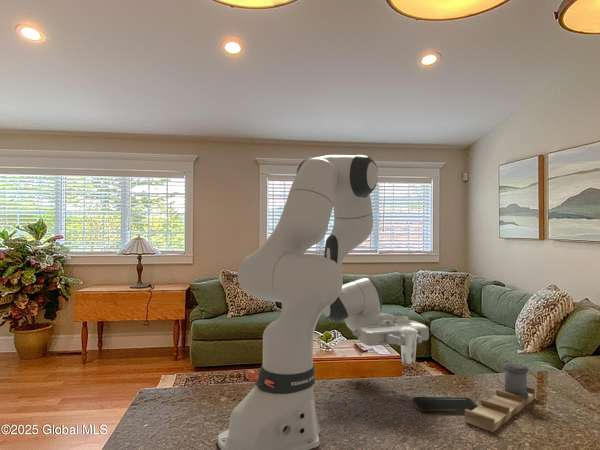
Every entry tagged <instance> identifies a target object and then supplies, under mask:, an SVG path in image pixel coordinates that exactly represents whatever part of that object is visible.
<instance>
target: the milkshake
mask: <svg viewBox="0 0 600 450" xmlns="http://www.w3.org/2000/svg"><path fill="white" fill-rule="evenodd" d="M420 326H421V325H420ZM419 328H420V327H419ZM418 330H419V329H418ZM417 334H418V331H417V330H416V329H414V328H411V327H402V328H401V329H400V337H402V338H404V339H405V345H400V352H401V353H400V355H401V363H402V364H406V365H414V364H416V353H417V344H418V343H417Z"/></svg>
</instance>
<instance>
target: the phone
mask: <svg viewBox="0 0 600 450" xmlns="http://www.w3.org/2000/svg"><path fill="white" fill-rule="evenodd" d="M412 403H413V405H414V407H415V408H416V410H417V411H418V413H420V414H423V415H426V414H427V415H465V409H468V410H471V411H472V410H473V409H475V408H476V407H478V406H479V405H477V404H476V403H475V402H474V400H473V399H472V398H469V397H444V396H443V397H439V396H438V397H437V396H436V397H435V396H434V397H432V396H428V397H427V396H414V397H412Z"/></svg>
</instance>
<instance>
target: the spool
mask: <svg viewBox="0 0 600 450" xmlns="http://www.w3.org/2000/svg"><path fill="white" fill-rule="evenodd" d="M502 365H503V366H502V368H503V370H504V388H503V389H502V390H503V391H505V392H509V393H512V394H515V395H519V396H522V397H524V398H527V397H528V392H527V391H526V390H527V386H528V385H527V383H528V382H527V376H528V375H527V374H528V372H529V368H528V366H525V365H523V364H519V363H511V362H508V363H507V362H505V363H504V364H502Z"/></svg>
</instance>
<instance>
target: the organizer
mask: <svg viewBox="0 0 600 450" xmlns="http://www.w3.org/2000/svg"><path fill="white" fill-rule="evenodd" d="M526 391H527V392H528V397H527V398H524V397H522V396H519V395H515V394H512V393H509V392H505V391H503V389H498V388H496V389H495V395H493V396H491V397H490V398H488V399H485V398H481V399H480V405H477V406H478V407H476V408H475V409H473V410H472V411H471V410H468V409H465V414H464V423H468V424H469V425H472V426H476V427H477V428H480V429H483V430H486V431H489V432H491V433H493V432H495V431H496V430H498V429H499V428H500V427H502V425H504V424H505V423H507V421H509V420H510V419H511V418H513V417H514V416H515V415H517V414H518V413H519V412H520V411H521V410H522V409H524V408H525V407H527V406H528V405H529V404H530V403H532V402H533V401H534V400H535V399H536V388H535V387H531V386H528V385H527V390H526Z"/></svg>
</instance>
